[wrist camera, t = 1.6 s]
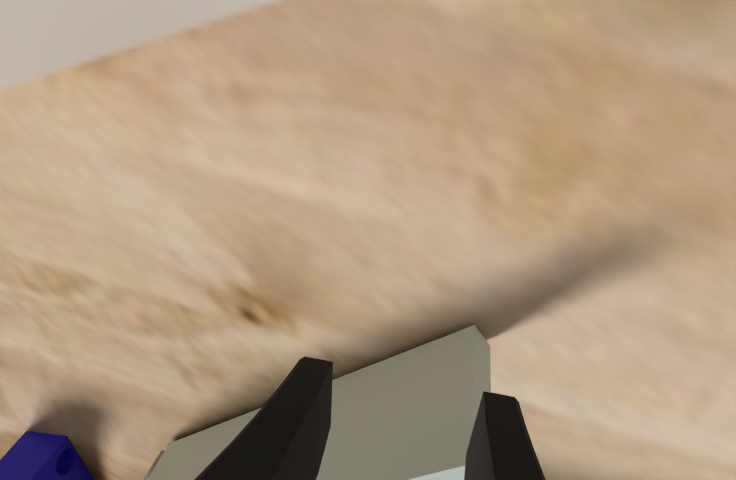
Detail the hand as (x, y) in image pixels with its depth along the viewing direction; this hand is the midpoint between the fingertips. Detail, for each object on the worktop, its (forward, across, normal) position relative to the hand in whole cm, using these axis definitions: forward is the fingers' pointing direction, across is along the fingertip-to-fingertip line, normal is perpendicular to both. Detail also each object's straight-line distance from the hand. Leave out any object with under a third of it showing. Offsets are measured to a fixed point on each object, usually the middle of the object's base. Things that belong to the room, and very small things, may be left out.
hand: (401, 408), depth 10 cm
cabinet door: (+8, +5, +11) cm, 15 cm away
